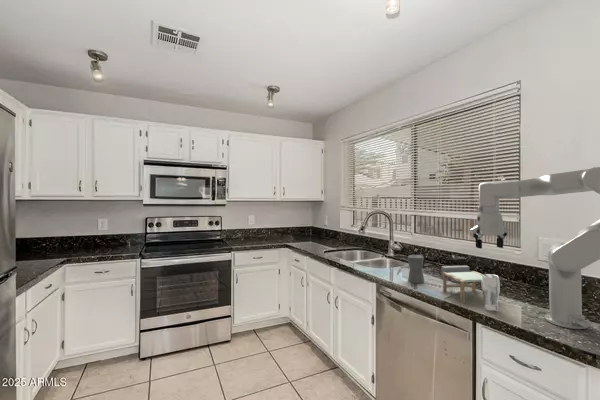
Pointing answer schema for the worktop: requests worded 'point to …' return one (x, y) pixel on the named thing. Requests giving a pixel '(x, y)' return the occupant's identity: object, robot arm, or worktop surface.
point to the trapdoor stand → (458, 284)
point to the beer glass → (490, 291)
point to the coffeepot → (416, 268)
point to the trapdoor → (462, 273)
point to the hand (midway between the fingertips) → (489, 247)
